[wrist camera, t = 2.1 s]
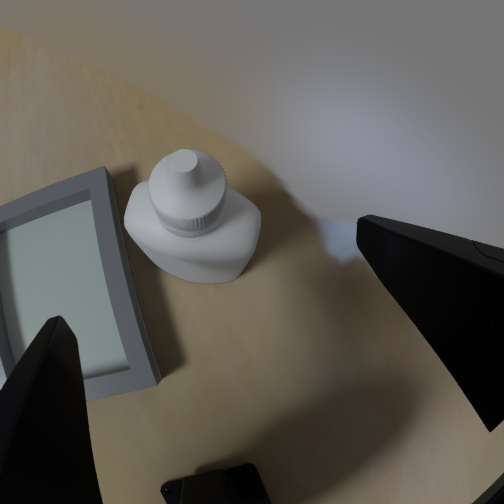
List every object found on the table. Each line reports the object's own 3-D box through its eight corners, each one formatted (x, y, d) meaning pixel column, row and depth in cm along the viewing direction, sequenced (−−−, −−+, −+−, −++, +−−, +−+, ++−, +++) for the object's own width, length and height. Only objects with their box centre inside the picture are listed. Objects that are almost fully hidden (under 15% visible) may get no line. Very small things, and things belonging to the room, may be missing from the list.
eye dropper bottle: (207, 312, 19) (207, 298, 7) (141, 251, 19) (62, 158, 7) (254, 258, 20) (318, 173, 8) (188, 201, 20) (173, 67, 8)
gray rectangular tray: (162, 379, 17) (157, 385, 16) (19, 406, 15) (5, 412, 13) (112, 179, 20) (104, 165, 18) (-14, 227, 17) (-28, 219, 16)
